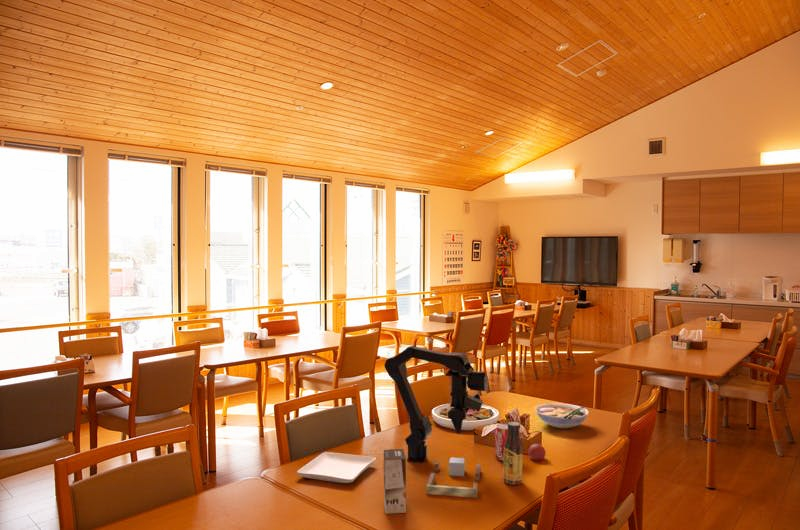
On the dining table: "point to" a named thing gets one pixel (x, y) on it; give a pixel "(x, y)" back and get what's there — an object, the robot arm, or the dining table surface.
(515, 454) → the sauce bottle
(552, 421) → the ramen bowl
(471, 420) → the bowl
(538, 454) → the fruit
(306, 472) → the salad plate
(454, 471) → the white cube
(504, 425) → the soda can
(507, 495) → the dining table surface
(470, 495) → the wooden pieces
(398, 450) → the coffee box
